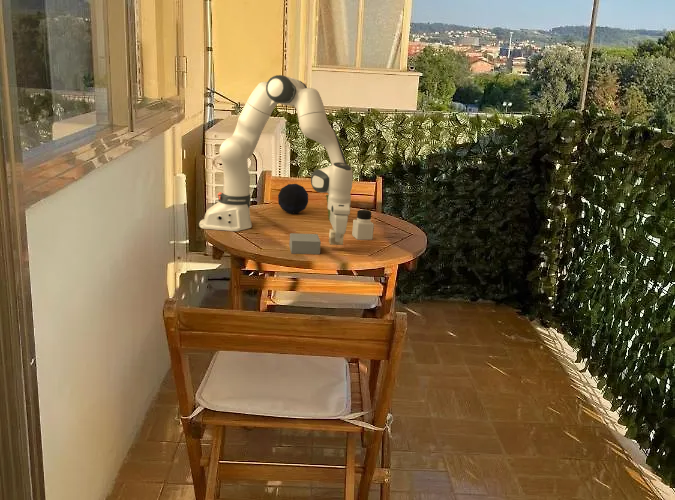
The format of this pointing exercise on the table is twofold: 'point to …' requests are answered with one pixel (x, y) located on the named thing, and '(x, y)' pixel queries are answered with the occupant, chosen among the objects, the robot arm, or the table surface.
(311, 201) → the table surface
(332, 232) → the ash cube
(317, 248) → the grey block
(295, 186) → the decorative orb
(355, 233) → the medicine bottle
